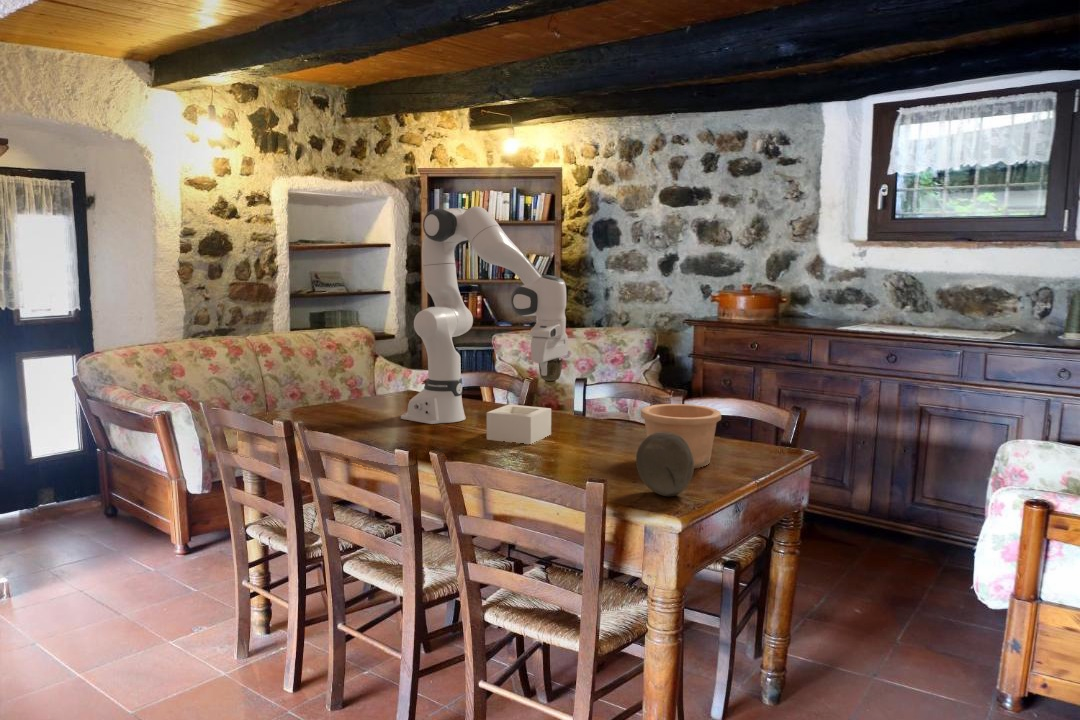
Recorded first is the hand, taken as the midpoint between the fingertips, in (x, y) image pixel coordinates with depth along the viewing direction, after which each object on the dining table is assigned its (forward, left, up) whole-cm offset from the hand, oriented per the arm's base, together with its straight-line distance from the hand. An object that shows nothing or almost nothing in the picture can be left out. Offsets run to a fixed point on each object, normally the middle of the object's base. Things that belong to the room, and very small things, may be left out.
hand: (549, 373), depth 253 cm
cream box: (-9, -3, -20) cm, 22 cm away
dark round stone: (+49, -42, -21) cm, 68 cm away
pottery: (+44, -10, -21) cm, 50 cm away
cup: (0, 0, -4) cm, 4 cm away
